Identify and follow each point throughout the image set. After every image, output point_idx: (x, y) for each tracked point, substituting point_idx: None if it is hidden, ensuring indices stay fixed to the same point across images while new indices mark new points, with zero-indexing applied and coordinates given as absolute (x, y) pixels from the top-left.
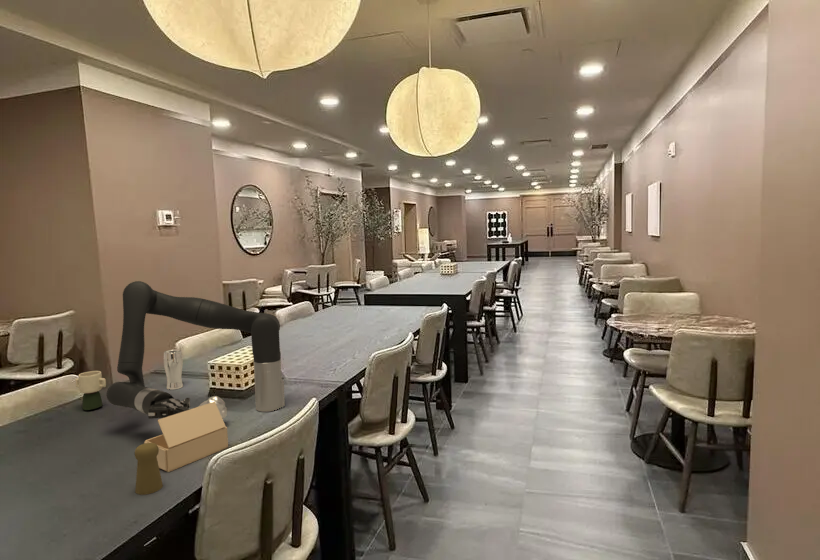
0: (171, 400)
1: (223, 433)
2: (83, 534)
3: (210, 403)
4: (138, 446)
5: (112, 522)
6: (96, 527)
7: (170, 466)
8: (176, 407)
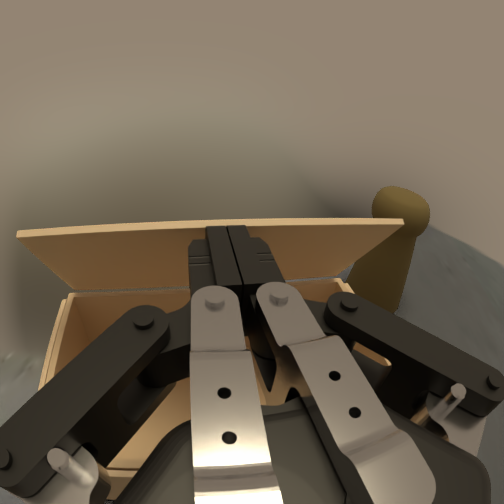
0: (262, 478)
1: (91, 308)
2: (443, 248)
3: (49, 229)
4: (425, 202)
5: (415, 247)
6: (432, 250)
7: None
8: (271, 287)
